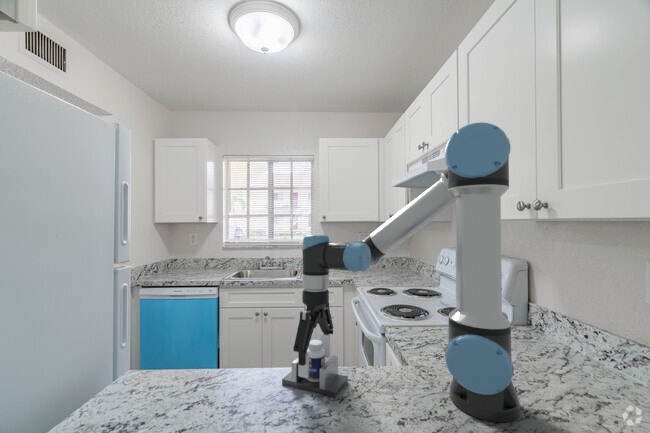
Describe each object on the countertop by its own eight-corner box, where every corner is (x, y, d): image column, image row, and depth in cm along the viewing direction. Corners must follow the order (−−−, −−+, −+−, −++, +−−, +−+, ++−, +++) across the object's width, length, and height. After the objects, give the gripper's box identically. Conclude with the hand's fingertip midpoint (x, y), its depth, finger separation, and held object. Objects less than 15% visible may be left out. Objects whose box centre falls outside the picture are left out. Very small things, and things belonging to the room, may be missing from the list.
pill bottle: (302, 380, 79) (302, 344, 80) (310, 371, 84) (310, 337, 85) (320, 384, 78) (320, 346, 78) (327, 375, 83) (327, 340, 83)
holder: (347, 381, 82) (347, 358, 82) (335, 398, 74) (335, 372, 74) (298, 370, 88) (298, 348, 89) (282, 384, 80) (282, 360, 81)
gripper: (322, 281, 95) (322, 347, 94) (280, 296, 73) (279, 383, 72) (343, 283, 92) (343, 351, 91) (306, 299, 70) (305, 390, 68)
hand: (315, 365), depth 81 cm, fingers open, 13 cm apart
